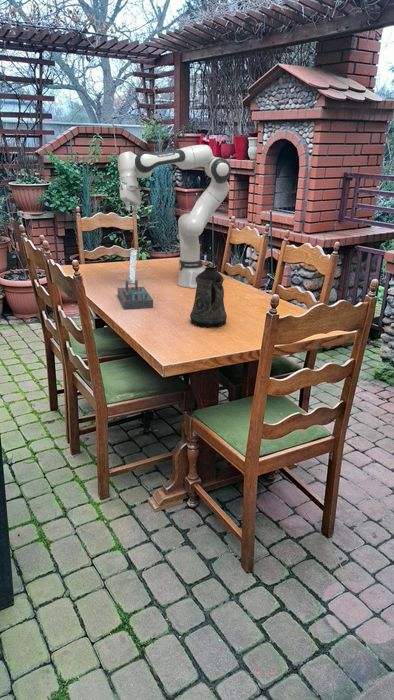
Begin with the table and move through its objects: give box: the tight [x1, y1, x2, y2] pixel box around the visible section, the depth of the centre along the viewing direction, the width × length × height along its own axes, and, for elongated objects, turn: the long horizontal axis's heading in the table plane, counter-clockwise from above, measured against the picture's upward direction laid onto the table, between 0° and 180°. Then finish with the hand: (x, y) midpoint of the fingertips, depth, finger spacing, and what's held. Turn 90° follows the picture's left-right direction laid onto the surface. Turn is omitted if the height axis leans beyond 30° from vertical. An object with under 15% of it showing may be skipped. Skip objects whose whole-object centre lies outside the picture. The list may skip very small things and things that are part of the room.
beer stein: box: [189, 266, 228, 329], centre depth 229 cm, size 16×19×25 cm
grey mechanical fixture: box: [117, 279, 154, 310], centre depth 261 cm, size 14×27×8 cm, turn 15°
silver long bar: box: [128, 249, 138, 285], centre depth 261 cm, size 3×23×2 cm
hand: (132, 211), depth 267 cm, fingers open, 8 cm apart
